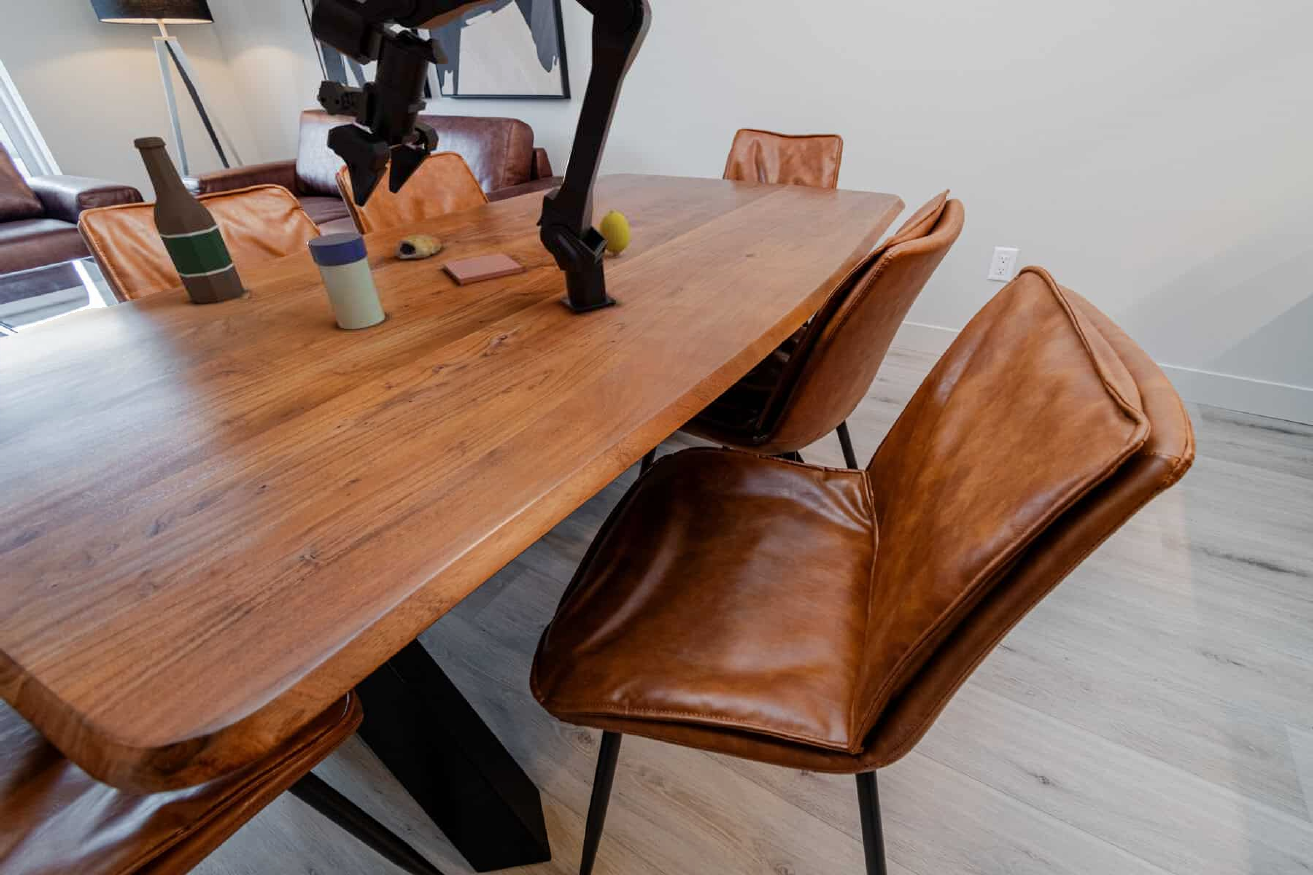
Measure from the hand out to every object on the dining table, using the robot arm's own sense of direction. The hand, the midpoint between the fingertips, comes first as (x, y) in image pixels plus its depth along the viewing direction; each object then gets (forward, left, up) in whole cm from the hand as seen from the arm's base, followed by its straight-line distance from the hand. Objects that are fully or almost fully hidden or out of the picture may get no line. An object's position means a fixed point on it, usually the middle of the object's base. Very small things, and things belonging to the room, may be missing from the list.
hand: (376, 198), depth 85 cm
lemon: (+2, -38, -16) cm, 41 cm away
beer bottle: (+24, +26, -16) cm, 39 cm away
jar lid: (-4, +7, -4) cm, 9 cm away
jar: (-4, +7, -15) cm, 17 cm away
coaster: (+9, -15, -15) cm, 23 cm away
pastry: (+28, -8, -16) cm, 33 cm away
